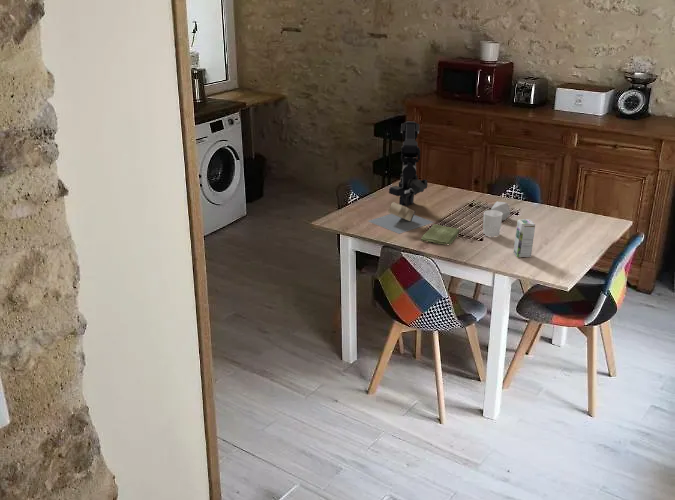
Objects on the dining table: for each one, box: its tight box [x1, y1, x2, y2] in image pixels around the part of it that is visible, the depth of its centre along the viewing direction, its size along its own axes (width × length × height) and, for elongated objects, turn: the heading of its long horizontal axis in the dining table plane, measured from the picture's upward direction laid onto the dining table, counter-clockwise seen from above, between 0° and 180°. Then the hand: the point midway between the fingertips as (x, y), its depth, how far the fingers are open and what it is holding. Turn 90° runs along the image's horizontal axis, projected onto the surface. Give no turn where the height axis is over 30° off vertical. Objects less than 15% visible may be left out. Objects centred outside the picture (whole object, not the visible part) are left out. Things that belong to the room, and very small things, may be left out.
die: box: [490, 200, 511, 221], centre depth 320 cm, size 8×9×10 cm
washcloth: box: [420, 223, 460, 246], centre depth 300 cm, size 13×18×3 cm
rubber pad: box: [367, 213, 435, 235], centre depth 314 cm, size 22×20×1 cm
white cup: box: [482, 209, 503, 238], centre depth 301 cm, size 8×8×10 cm
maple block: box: [387, 201, 416, 221], centre depth 312 cm, size 5×6×10 cm
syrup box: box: [513, 218, 536, 258], centre depth 280 cm, size 6×6×14 cm
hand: (407, 206), depth 314 cm, fingers closed
